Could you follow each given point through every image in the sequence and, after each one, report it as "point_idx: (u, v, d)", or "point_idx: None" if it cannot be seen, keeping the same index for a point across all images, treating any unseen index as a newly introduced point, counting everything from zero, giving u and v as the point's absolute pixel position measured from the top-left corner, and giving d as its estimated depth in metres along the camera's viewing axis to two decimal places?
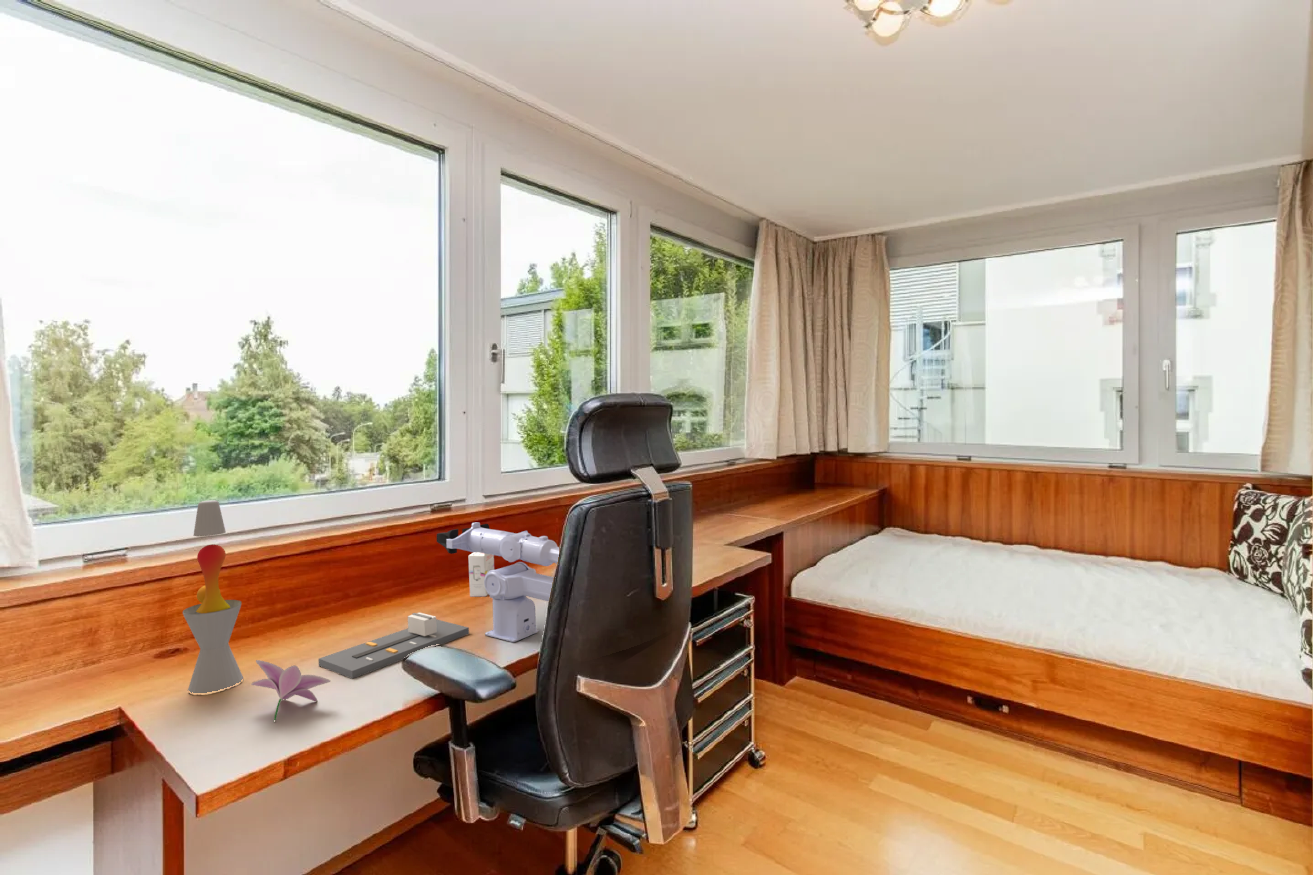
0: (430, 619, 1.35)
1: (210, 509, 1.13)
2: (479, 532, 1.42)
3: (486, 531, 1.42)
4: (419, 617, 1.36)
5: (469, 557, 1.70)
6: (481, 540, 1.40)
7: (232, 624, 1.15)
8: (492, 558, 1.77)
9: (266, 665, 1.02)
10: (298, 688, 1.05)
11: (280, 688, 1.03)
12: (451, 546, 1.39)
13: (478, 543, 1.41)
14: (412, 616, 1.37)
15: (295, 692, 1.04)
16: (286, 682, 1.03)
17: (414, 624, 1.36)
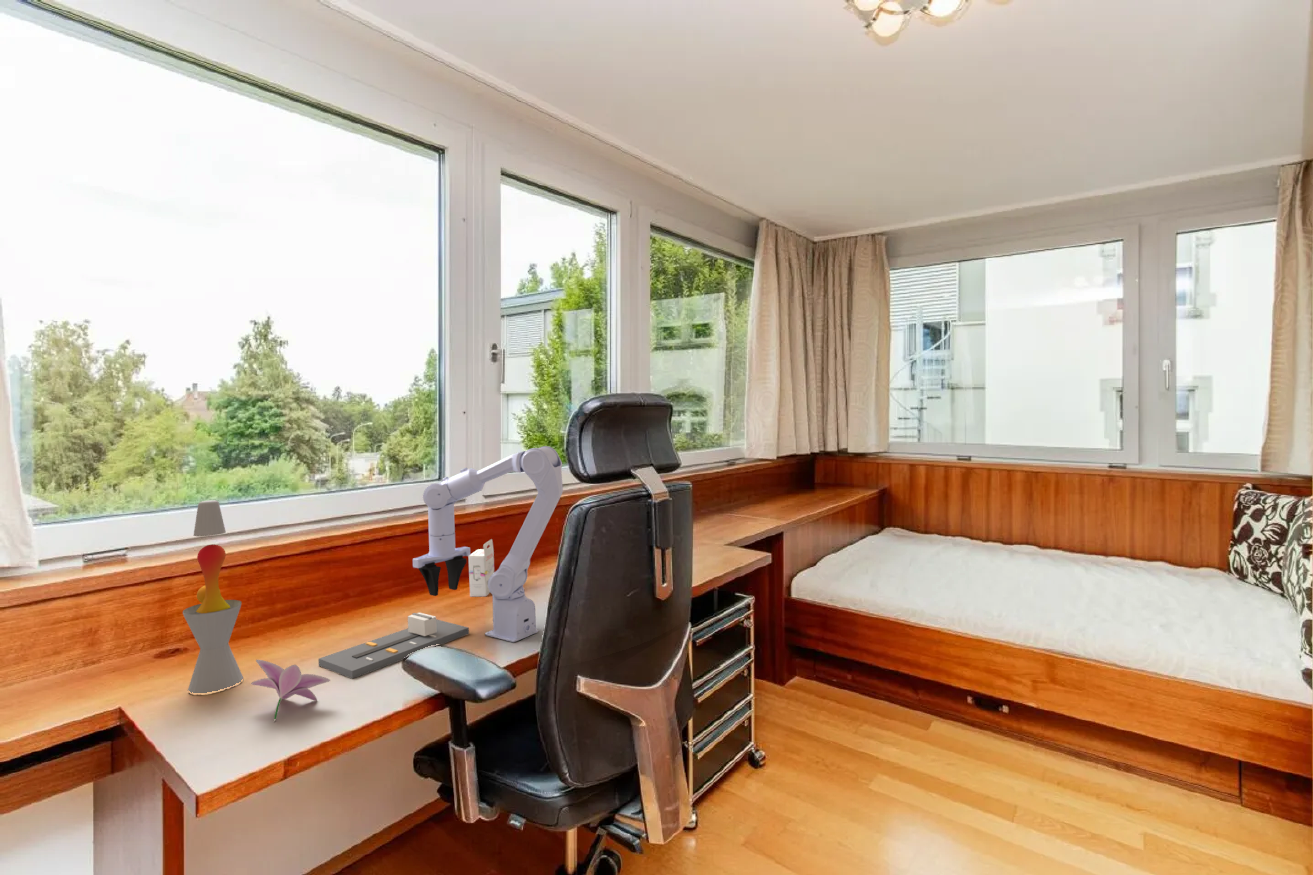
0: (430, 619, 1.35)
1: (211, 509, 1.13)
2: None
3: None
4: (419, 617, 1.36)
5: (469, 557, 1.70)
6: (433, 535, 1.39)
7: (232, 624, 1.15)
8: (492, 558, 1.77)
9: (266, 665, 1.03)
10: (298, 687, 1.05)
11: (280, 687, 1.03)
12: (416, 560, 1.35)
13: (431, 538, 1.39)
14: (412, 616, 1.37)
15: (295, 691, 1.05)
16: (286, 681, 1.03)
17: (414, 624, 1.36)
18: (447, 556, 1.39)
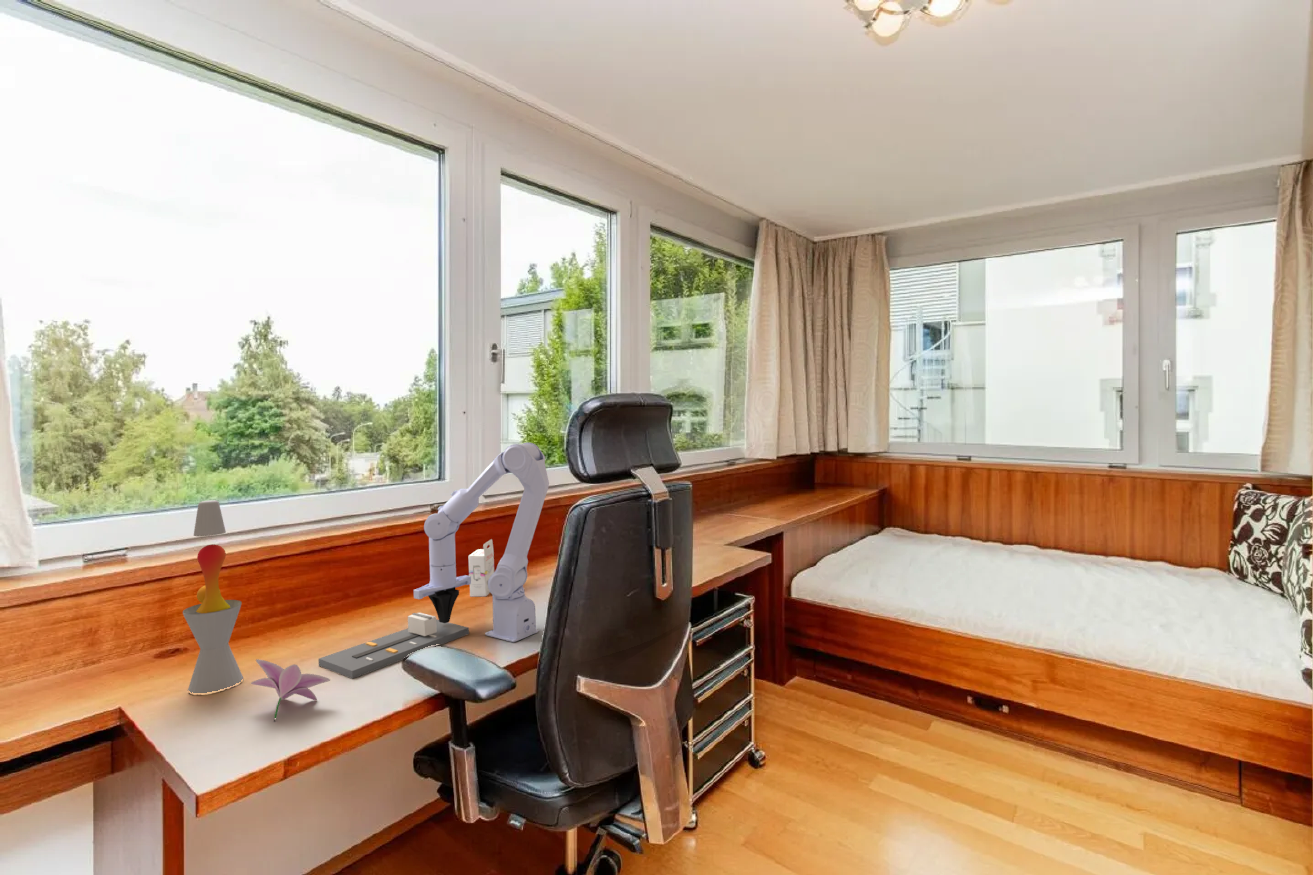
0: (430, 619, 1.35)
1: (211, 509, 1.13)
2: None
3: None
4: (419, 617, 1.36)
5: (469, 557, 1.70)
6: (434, 565, 1.39)
7: (232, 624, 1.15)
8: (492, 558, 1.77)
9: (266, 664, 1.03)
10: (298, 687, 1.05)
11: (280, 687, 1.03)
12: (417, 591, 1.35)
13: (432, 569, 1.39)
14: (412, 616, 1.37)
15: (295, 691, 1.05)
16: (286, 681, 1.03)
17: (414, 624, 1.36)
18: (448, 586, 1.39)
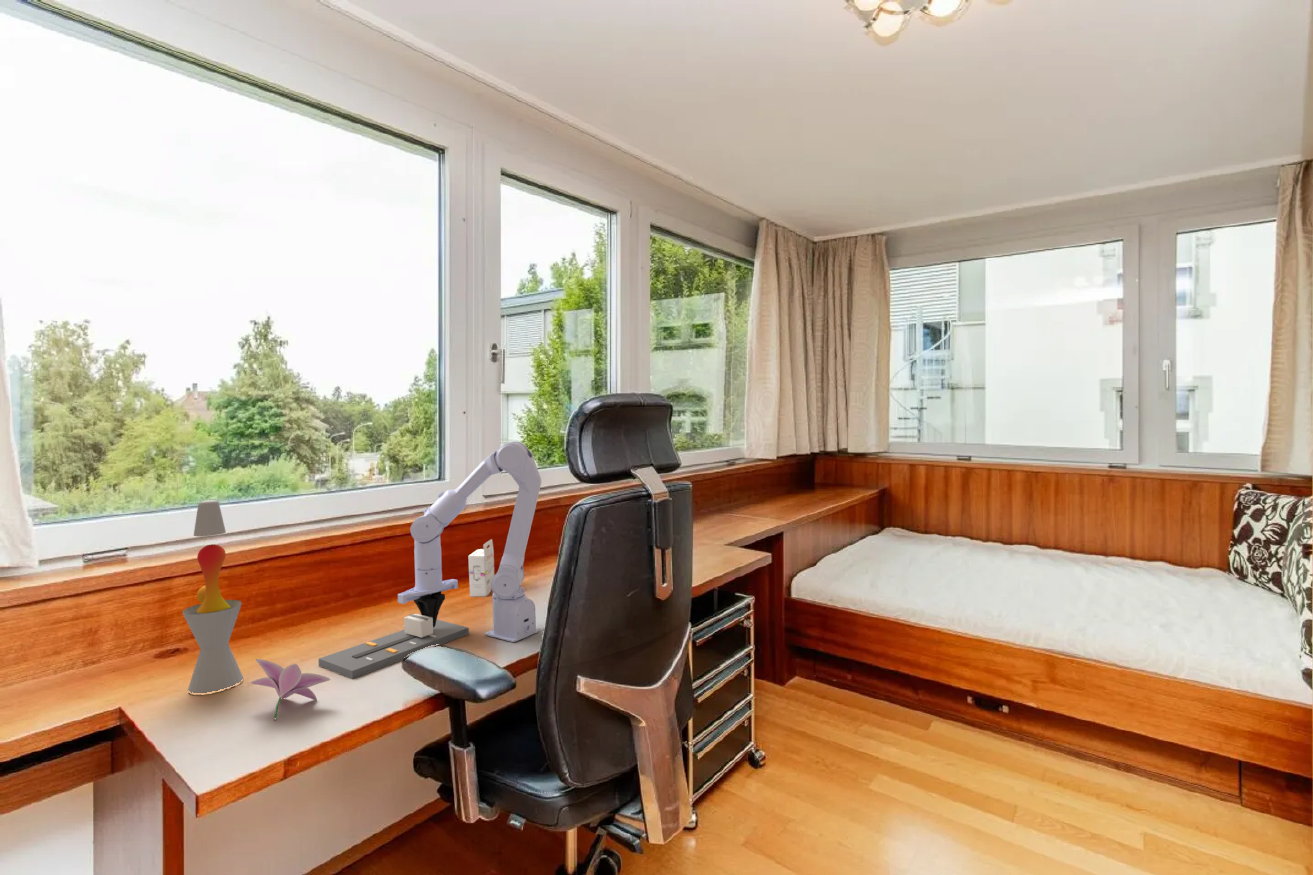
0: (427, 620, 1.34)
1: (211, 509, 1.13)
2: None
3: None
4: (415, 618, 1.35)
5: (469, 557, 1.70)
6: (421, 569, 1.36)
7: (232, 624, 1.15)
8: (492, 558, 1.77)
9: (266, 664, 1.03)
10: (298, 686, 1.05)
11: (280, 687, 1.03)
12: (401, 595, 1.32)
13: (417, 573, 1.36)
14: (408, 617, 1.36)
15: (295, 690, 1.05)
16: (286, 681, 1.03)
17: (411, 626, 1.35)
18: (433, 590, 1.36)
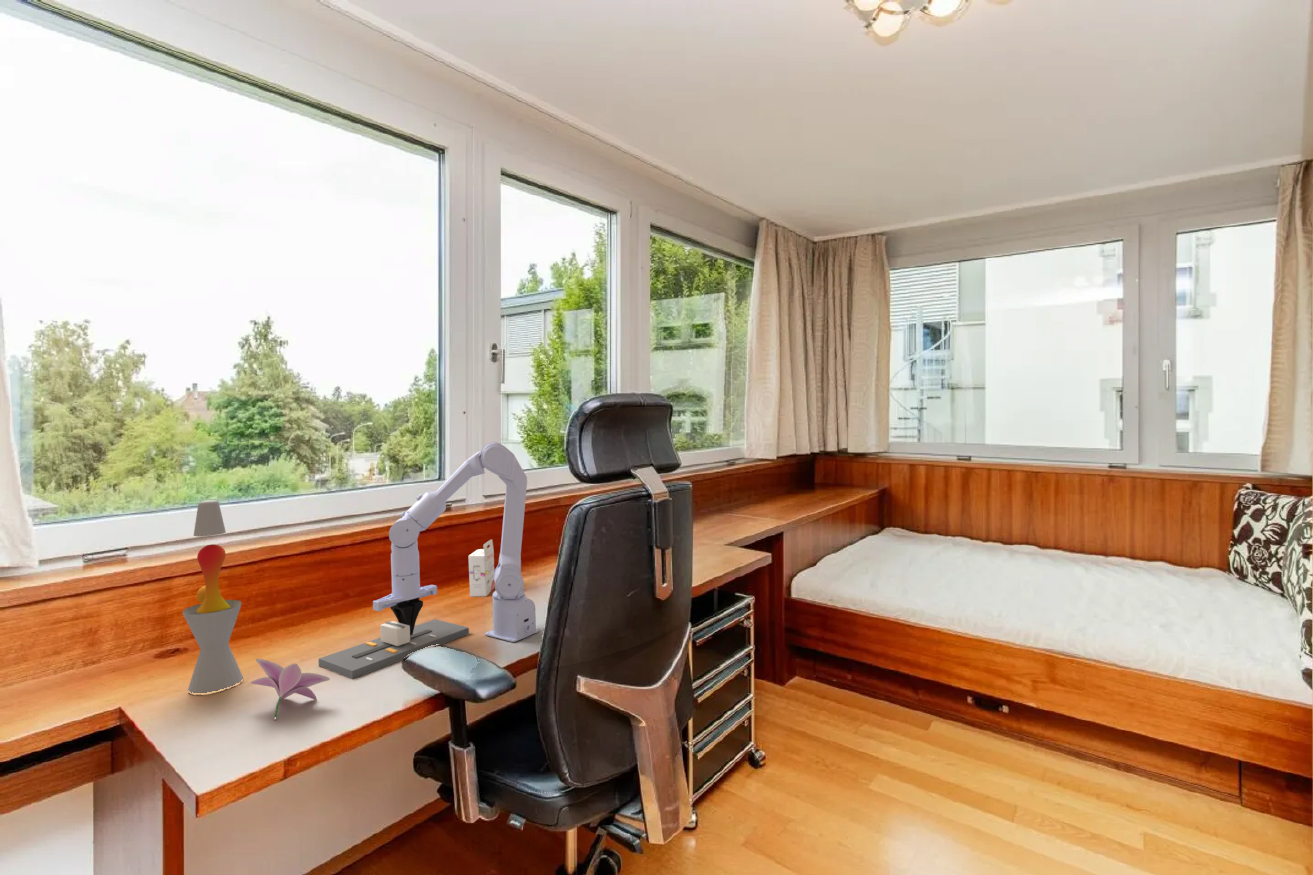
0: (403, 628, 1.30)
1: (211, 509, 1.13)
2: None
3: None
4: (392, 626, 1.30)
5: (469, 557, 1.70)
6: (400, 575, 1.31)
7: (232, 624, 1.15)
8: (492, 558, 1.77)
9: (266, 664, 1.03)
10: (298, 686, 1.05)
11: (280, 686, 1.03)
12: (377, 603, 1.27)
13: (394, 579, 1.31)
14: (385, 625, 1.31)
15: (295, 690, 1.05)
16: (286, 680, 1.04)
17: (387, 634, 1.30)
18: (410, 597, 1.31)
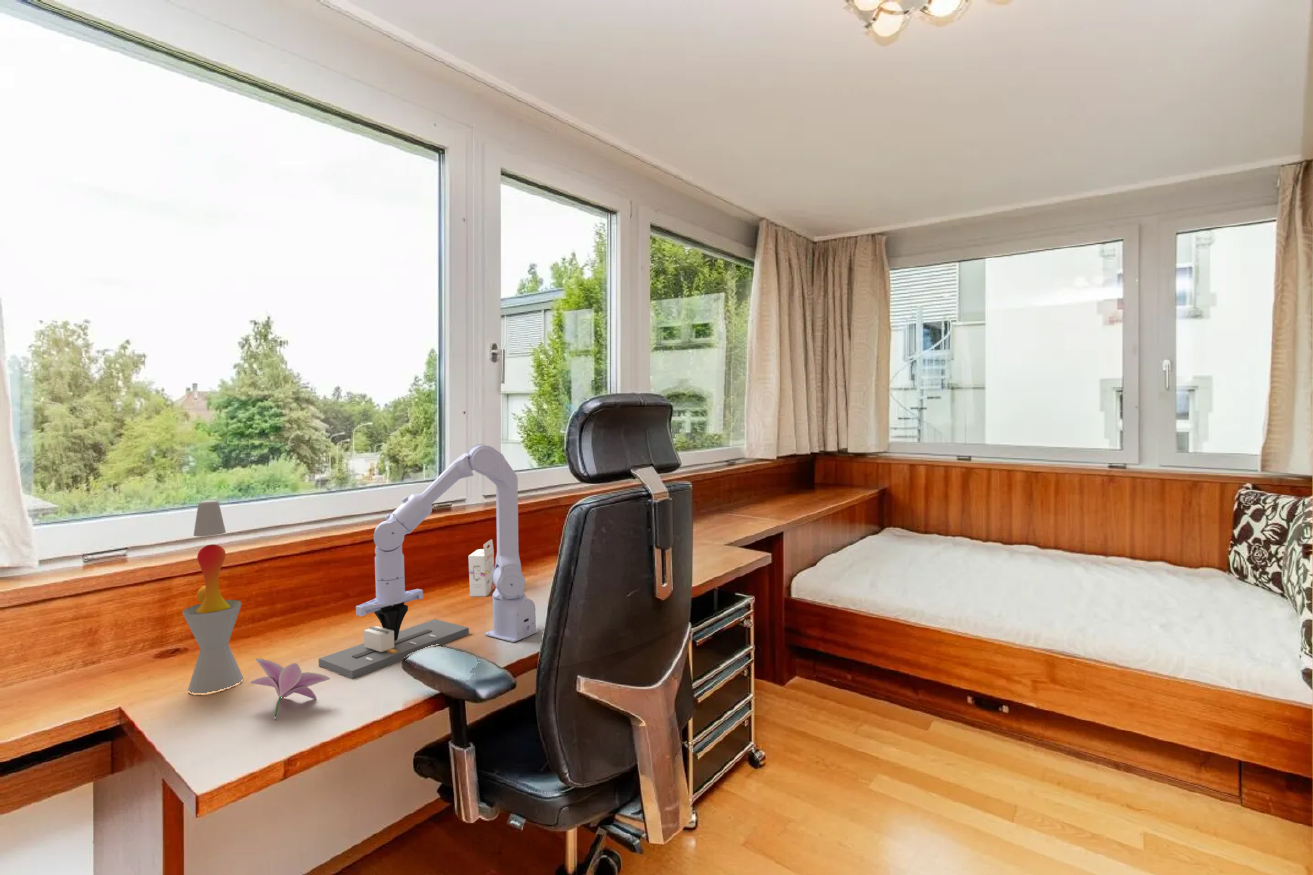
0: (387, 634, 1.26)
1: (211, 509, 1.13)
2: None
3: None
4: (375, 631, 1.27)
5: (469, 557, 1.70)
6: (385, 579, 1.27)
7: (232, 624, 1.15)
8: (492, 558, 1.77)
9: (266, 663, 1.03)
10: (298, 686, 1.05)
11: (280, 686, 1.04)
12: (360, 608, 1.24)
13: (378, 583, 1.28)
14: (368, 630, 1.28)
15: (295, 690, 1.05)
16: (286, 680, 1.04)
17: (370, 639, 1.27)
18: (395, 602, 1.28)
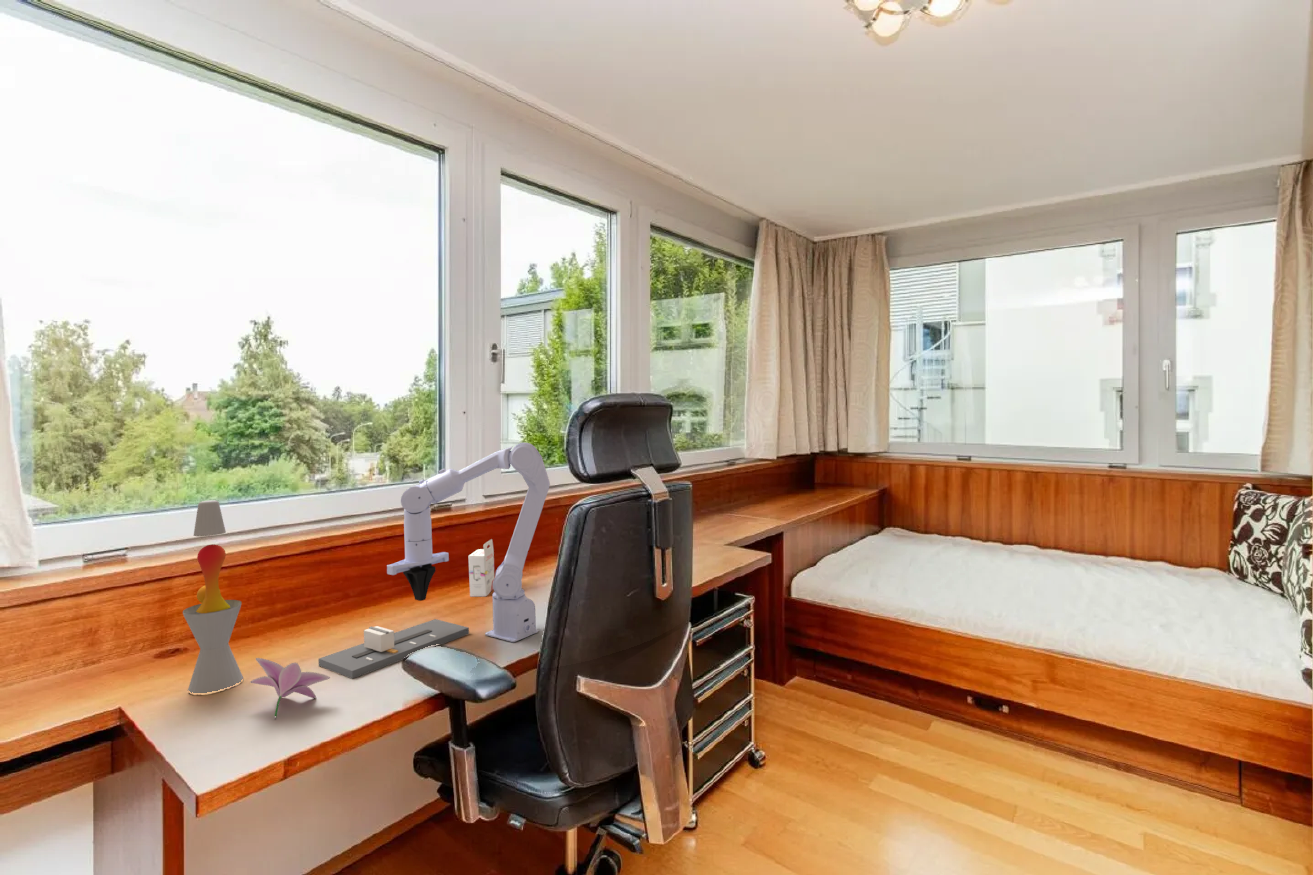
0: (387, 634, 1.26)
1: (211, 509, 1.13)
2: None
3: None
4: (375, 631, 1.27)
5: (469, 557, 1.70)
6: (412, 540, 1.33)
7: (232, 624, 1.15)
8: (492, 558, 1.77)
9: (266, 663, 1.03)
10: (297, 685, 1.06)
11: (280, 685, 1.04)
12: (391, 567, 1.30)
13: (407, 544, 1.34)
14: (368, 630, 1.28)
15: (295, 689, 1.06)
16: (286, 679, 1.04)
17: (370, 639, 1.27)
18: (423, 562, 1.34)
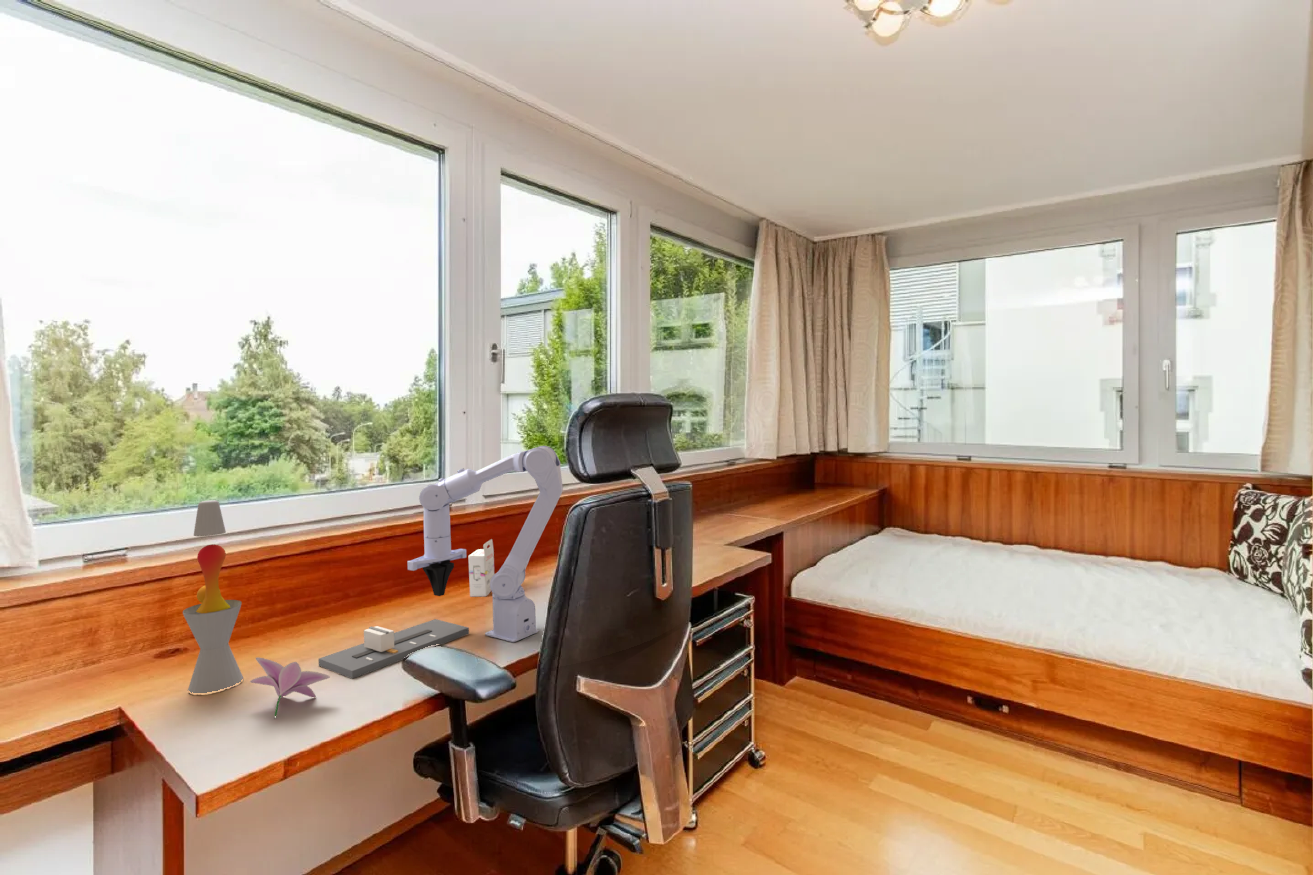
0: (387, 634, 1.26)
1: (211, 509, 1.13)
2: None
3: None
4: (375, 631, 1.27)
5: (469, 557, 1.70)
6: (429, 537, 1.36)
7: (232, 624, 1.15)
8: (492, 558, 1.77)
9: (266, 662, 1.04)
10: (297, 685, 1.06)
11: (280, 685, 1.04)
12: (411, 562, 1.33)
13: (427, 540, 1.37)
14: (368, 630, 1.28)
15: (294, 689, 1.06)
16: (286, 679, 1.04)
17: (370, 639, 1.27)
18: (443, 558, 1.37)
